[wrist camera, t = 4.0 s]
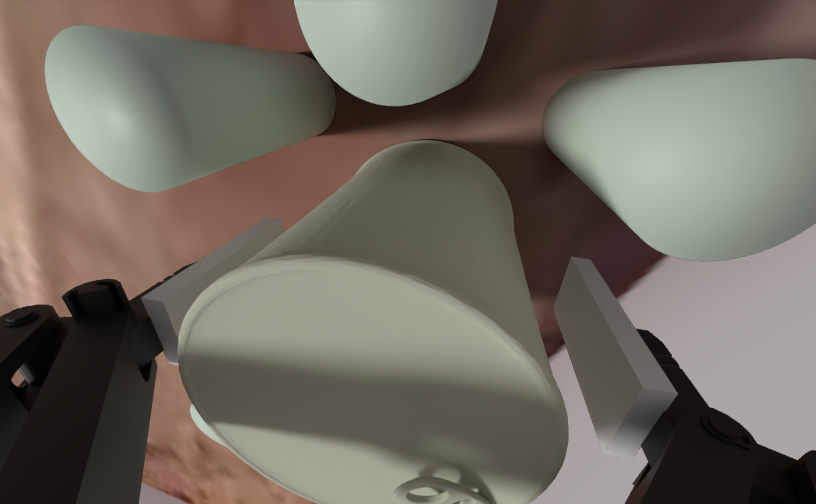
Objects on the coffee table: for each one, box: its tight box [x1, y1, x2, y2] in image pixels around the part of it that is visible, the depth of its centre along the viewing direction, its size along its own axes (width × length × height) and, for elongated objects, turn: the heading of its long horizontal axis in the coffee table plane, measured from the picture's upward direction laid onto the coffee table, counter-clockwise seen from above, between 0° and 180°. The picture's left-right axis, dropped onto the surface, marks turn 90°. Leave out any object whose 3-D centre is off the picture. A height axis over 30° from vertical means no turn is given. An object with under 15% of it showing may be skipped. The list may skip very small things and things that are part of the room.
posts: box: [45, 0, 816, 446], centre depth 13 cm, size 17×21×9 cm
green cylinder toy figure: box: [177, 140, 568, 504], centre depth 12 cm, size 9×9×12 cm
